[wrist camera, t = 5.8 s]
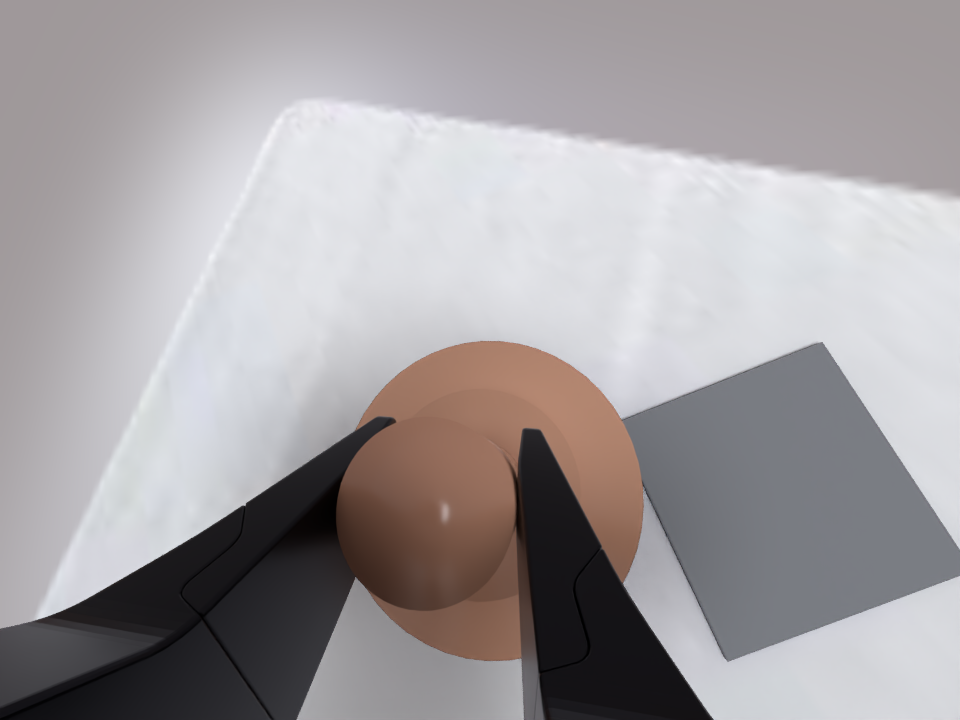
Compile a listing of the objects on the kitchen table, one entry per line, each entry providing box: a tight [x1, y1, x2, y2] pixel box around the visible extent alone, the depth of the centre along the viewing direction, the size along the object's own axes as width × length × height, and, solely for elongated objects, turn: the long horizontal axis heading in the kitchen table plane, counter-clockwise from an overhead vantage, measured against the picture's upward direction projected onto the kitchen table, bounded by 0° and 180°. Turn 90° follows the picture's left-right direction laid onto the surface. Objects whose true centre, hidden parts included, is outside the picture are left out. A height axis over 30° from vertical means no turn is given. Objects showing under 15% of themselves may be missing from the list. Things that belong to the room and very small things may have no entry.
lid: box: [336, 341, 644, 661], centre depth 12 cm, size 11×11×10 cm
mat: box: [622, 342, 960, 661], centre depth 19 cm, size 11×11×1 cm
